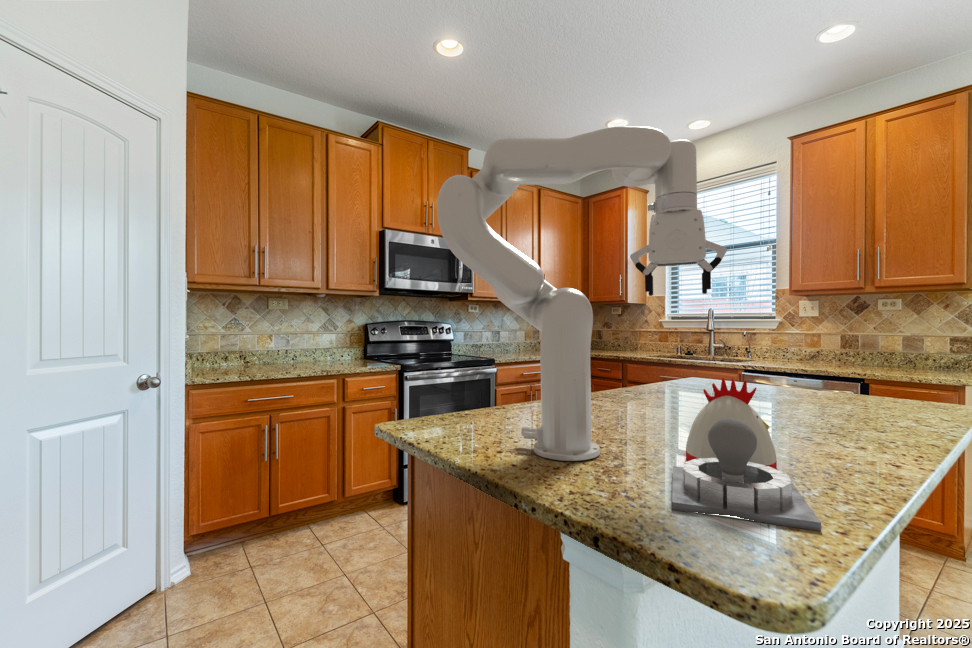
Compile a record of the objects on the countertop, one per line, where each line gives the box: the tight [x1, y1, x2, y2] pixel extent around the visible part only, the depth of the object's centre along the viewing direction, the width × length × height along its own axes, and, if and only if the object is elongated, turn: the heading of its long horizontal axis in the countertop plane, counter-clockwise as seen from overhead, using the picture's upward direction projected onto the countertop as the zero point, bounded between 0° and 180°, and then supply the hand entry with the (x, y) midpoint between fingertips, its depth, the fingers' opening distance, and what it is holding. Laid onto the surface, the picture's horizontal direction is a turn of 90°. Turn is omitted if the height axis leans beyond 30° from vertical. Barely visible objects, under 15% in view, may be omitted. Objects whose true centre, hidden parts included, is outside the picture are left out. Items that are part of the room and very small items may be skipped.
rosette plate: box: [671, 458, 822, 532], centre depth 61 cm, size 16×16×4 cm
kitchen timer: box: [685, 377, 778, 470], centre depth 77 cm, size 14×14×15 cm
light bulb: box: [708, 418, 757, 483], centre depth 62 cm, size 6×6×10 cm
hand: (677, 294), depth 86 cm, fingers open, 9 cm apart
